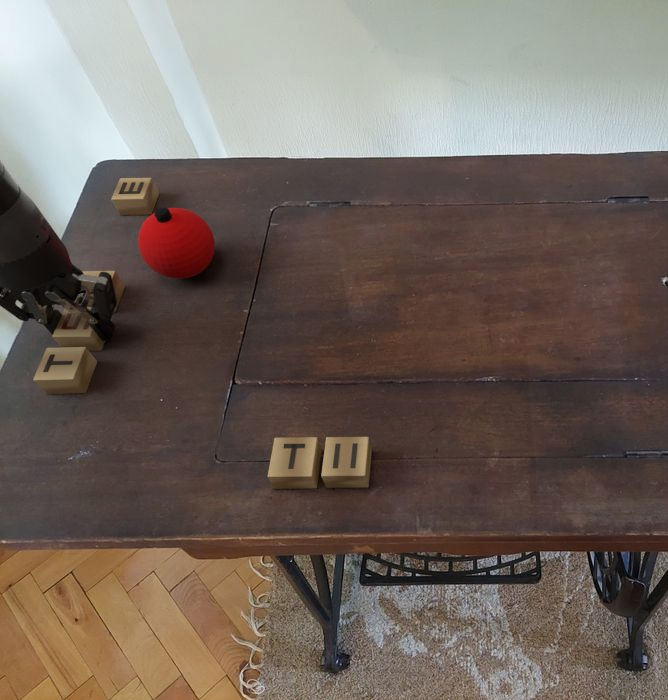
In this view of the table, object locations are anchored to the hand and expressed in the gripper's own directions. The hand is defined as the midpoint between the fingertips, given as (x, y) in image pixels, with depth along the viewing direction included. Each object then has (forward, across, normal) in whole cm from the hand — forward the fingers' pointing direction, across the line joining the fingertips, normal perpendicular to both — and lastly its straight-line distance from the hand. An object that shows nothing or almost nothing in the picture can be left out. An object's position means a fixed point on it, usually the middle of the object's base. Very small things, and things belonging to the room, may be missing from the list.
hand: (87, 335), depth 80 cm
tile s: (0, 0, 0) cm, 0 cm away
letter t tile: (0, 0, -6) cm, 6 cm away
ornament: (0, +10, +11) cm, 15 cm away
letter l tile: (0, 0, +6) cm, 6 cm away
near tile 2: (0, +28, -18) cm, 34 cm away
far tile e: (0, 0, +24) cm, 24 cm away
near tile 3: (0, +34, -18) cm, 38 cm away
